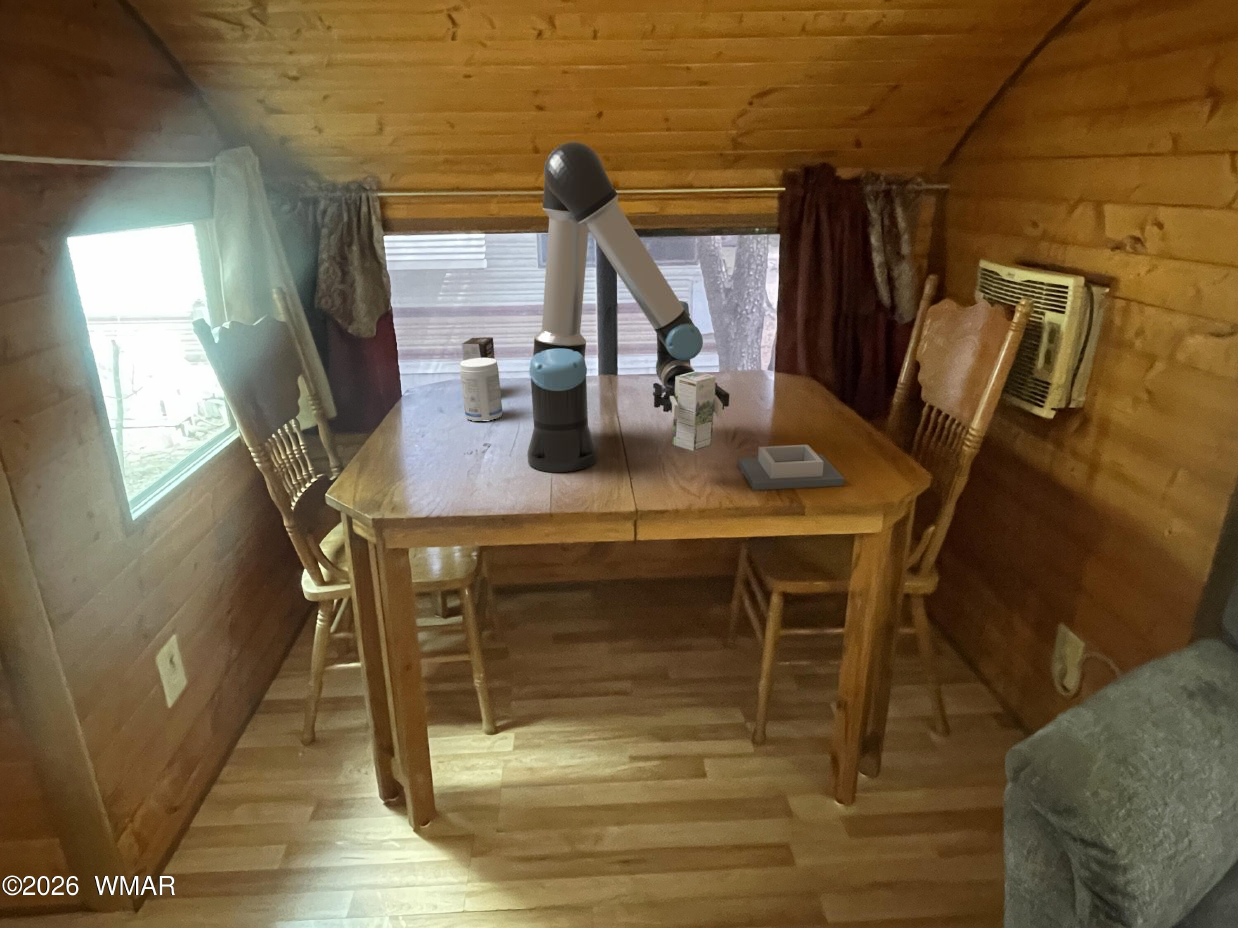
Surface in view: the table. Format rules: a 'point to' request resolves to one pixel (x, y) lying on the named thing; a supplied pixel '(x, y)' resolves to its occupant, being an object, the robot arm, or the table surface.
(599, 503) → the table surface
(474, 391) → the supplement tub
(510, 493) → the table surface
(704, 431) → the syrup box
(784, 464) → the socket board
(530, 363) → the robot arm
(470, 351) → the coffee box
